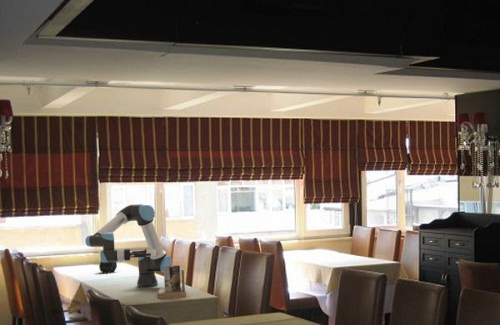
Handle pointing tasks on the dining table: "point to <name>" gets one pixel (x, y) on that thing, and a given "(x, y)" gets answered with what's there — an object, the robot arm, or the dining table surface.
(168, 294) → the shelf plank
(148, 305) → the dining table surface
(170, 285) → the coffee box
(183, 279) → the bookend
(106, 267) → the squash
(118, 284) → the dining table surface
